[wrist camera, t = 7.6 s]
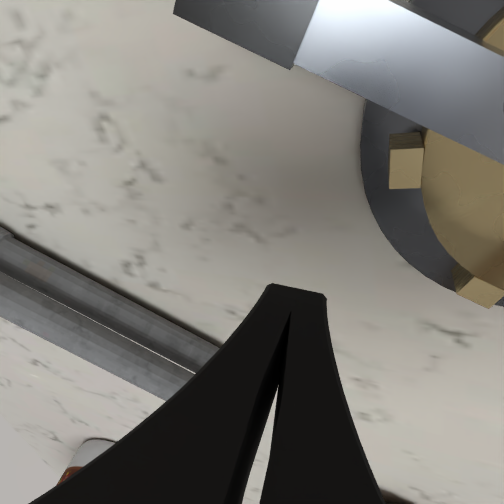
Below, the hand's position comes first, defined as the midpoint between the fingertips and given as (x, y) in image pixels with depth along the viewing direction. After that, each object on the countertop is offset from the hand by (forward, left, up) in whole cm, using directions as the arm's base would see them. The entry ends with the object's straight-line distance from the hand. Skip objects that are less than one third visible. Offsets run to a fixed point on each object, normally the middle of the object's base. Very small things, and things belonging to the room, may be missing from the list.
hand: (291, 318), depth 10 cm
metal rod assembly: (+11, +16, -10) cm, 21 cm away
